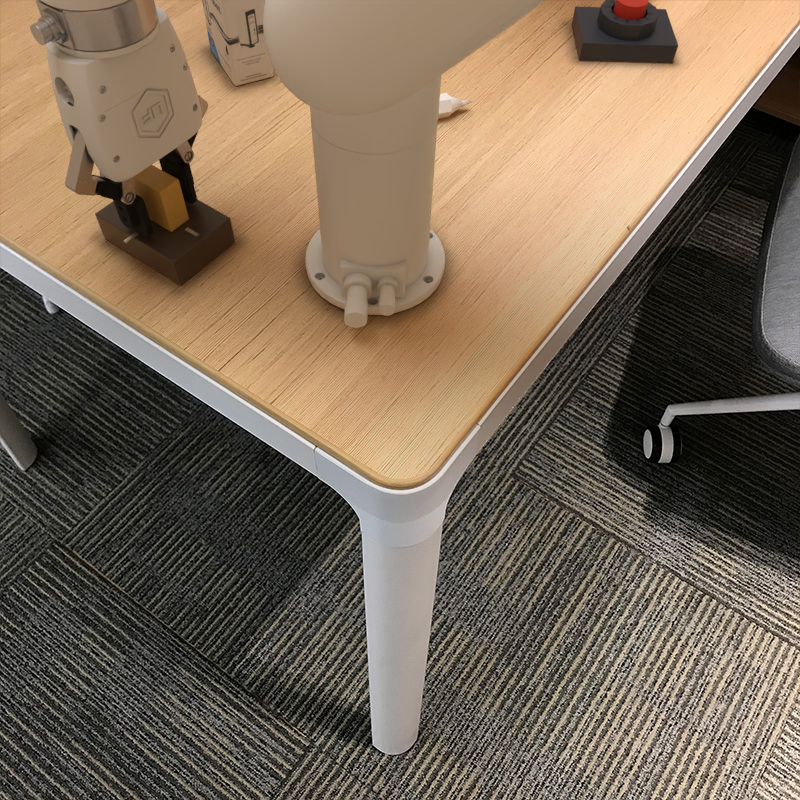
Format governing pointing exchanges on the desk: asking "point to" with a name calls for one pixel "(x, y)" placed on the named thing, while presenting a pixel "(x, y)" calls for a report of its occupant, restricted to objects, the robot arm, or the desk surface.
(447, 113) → the marker
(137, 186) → the lock knob
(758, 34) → the desk surface
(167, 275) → the plate
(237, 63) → the ink box
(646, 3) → the bell button
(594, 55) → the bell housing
